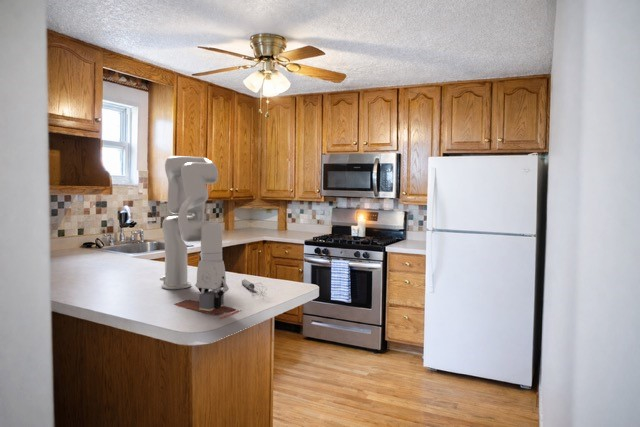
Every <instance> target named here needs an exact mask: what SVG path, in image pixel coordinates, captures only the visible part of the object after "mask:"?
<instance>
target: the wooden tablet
mask: <svg viewBox="0 0 640 427" xmlns="http://www.w3.org/2000/svg"><path fill="white" fill-rule="evenodd" d="M173 305H174V306H176V307H178V308H184V309H188V310H193V311H196V312H201V313H205V314H208V315H211V316H223V315H224V314H225V313H226V314H229V313H231V312H234V311H236V310H237V309H236V308H234V307H233V306H232V307H230V306H227V305H226V306H225V305H224V306H222V307H219V308H217V309H214V310H211V311H205V310H199V300H192V299H184V300H181V301H178V302H176V303H173Z"/></svg>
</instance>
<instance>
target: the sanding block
mask: <svg viewBox="0 0 640 427" xmlns="http://www.w3.org/2000/svg"><path fill="white" fill-rule="evenodd" d="M218 293H219V291H218ZM198 296H199V300H198V301H199V310H205V311H211V310H214V309H215V308H214V298H215V292H214V290H211V289H210V290H209V291H208V292H205V293H202V294H201V293H199V294H198ZM224 296H225V293H224V294H223V296H221V307H222V306H225V305H224V303H225V301H224Z"/></svg>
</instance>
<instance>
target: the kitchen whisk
mask: <svg viewBox="0 0 640 427" xmlns="http://www.w3.org/2000/svg"><path fill="white" fill-rule="evenodd" d="M260 284H261V287H262V289H260V287H259V285H258V282H256V283H255V282H251V281H250V280H249V281H248V280H247V279H245V278H244V279H242V280H241V285H243V286H244V287H245V288H247V289H249V291H250V292H249V294H250V295H252V296H253V297H255V296H256V294H253V291H254V292H256V293H257V292H258V293H257V296H259V297H261V296H262V298H261V299H264V295H265V293H266V291H268V290H267V289H268V288H265V286H264V285H263V283H262V282H260ZM256 287H258V290H257V289H256V290H255V288H256ZM264 288H265V290H264V291H263V289H264ZM263 294H264V295H263Z"/></svg>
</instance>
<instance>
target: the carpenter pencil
mask: <svg viewBox="0 0 640 427" xmlns="http://www.w3.org/2000/svg"><path fill="white" fill-rule="evenodd" d="M241 311H242V309H241V308H240V309H236V310H235V311H233V312H228V313H226V314H225V315H224V314H223V315H221V316H220V317H219V319H220V320H223V319H225V318H228V317H230V316H233V315H234V314H237V313H239V312H241Z"/></svg>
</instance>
